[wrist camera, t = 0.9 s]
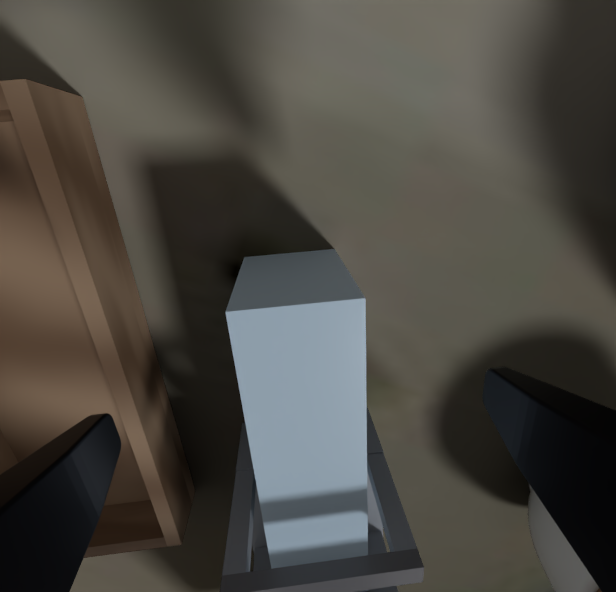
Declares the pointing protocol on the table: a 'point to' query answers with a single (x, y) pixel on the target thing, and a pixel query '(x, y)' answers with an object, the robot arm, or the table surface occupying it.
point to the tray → (79, 320)
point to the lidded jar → (556, 552)
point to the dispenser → (328, 574)
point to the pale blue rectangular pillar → (304, 401)
